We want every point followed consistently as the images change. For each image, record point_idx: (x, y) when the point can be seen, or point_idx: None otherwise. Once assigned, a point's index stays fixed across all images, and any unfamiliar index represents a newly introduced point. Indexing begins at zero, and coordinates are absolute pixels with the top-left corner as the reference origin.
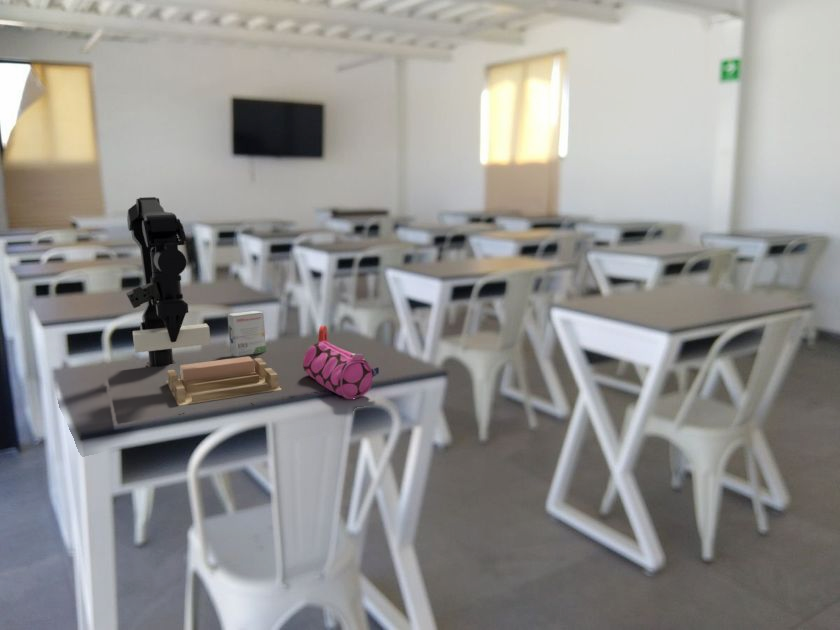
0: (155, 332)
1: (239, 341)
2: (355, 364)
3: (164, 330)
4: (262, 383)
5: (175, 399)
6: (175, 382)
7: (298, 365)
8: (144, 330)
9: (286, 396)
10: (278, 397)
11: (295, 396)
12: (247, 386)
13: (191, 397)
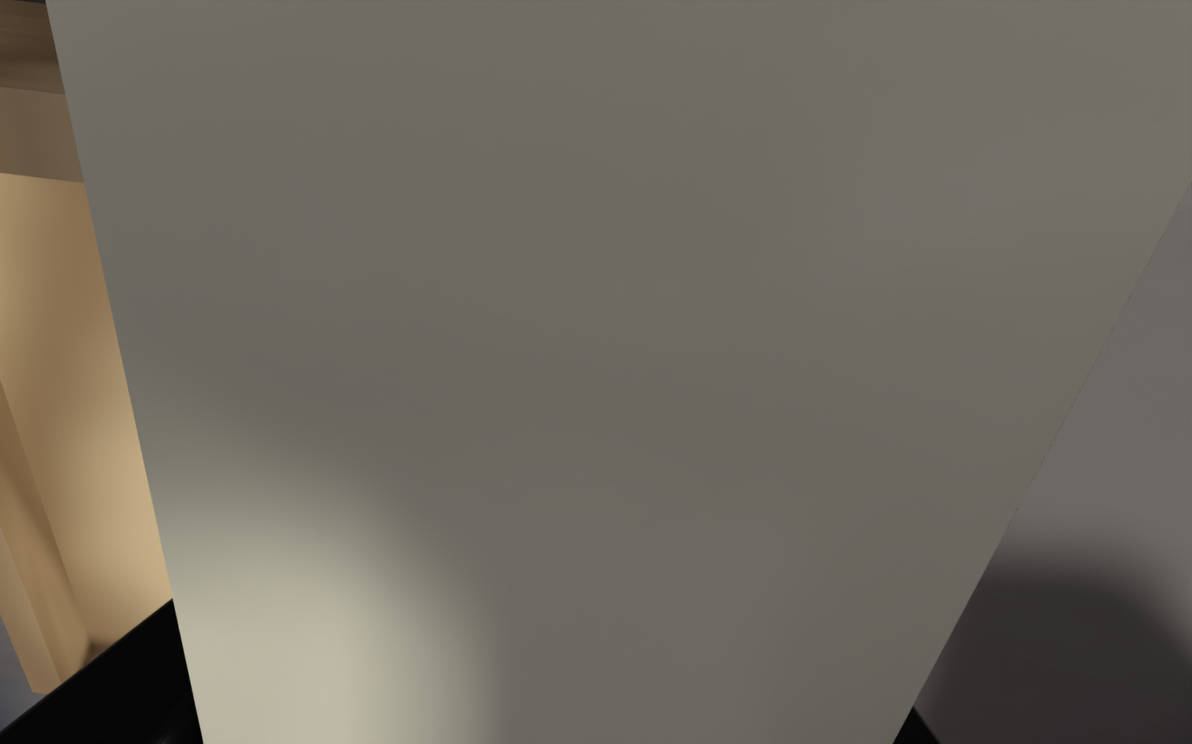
0: (139, 432)
1: None
2: None
3: (397, 701)
4: (58, 678)
5: (15, 16)
6: (66, 116)
7: None
8: (1026, 161)
9: (17, 677)
10: (8, 644)
11: (2, 705)
12: (5, 594)
13: (41, 179)
